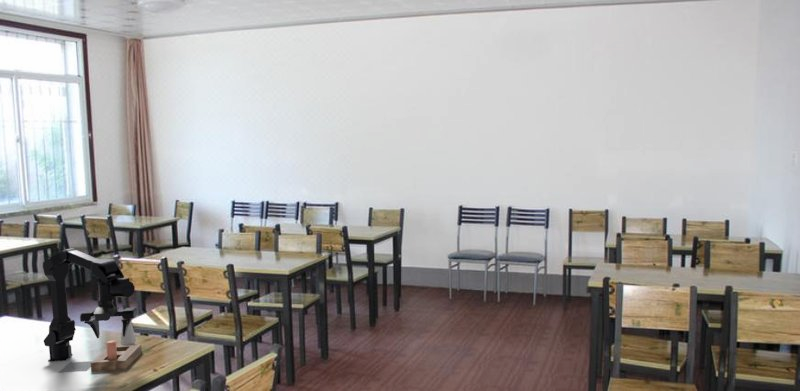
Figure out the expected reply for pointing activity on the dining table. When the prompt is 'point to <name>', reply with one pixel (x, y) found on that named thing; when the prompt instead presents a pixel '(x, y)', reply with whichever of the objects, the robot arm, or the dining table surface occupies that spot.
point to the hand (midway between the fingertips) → (111, 337)
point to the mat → (76, 367)
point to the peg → (111, 350)
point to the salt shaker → (128, 335)
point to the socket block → (124, 358)
